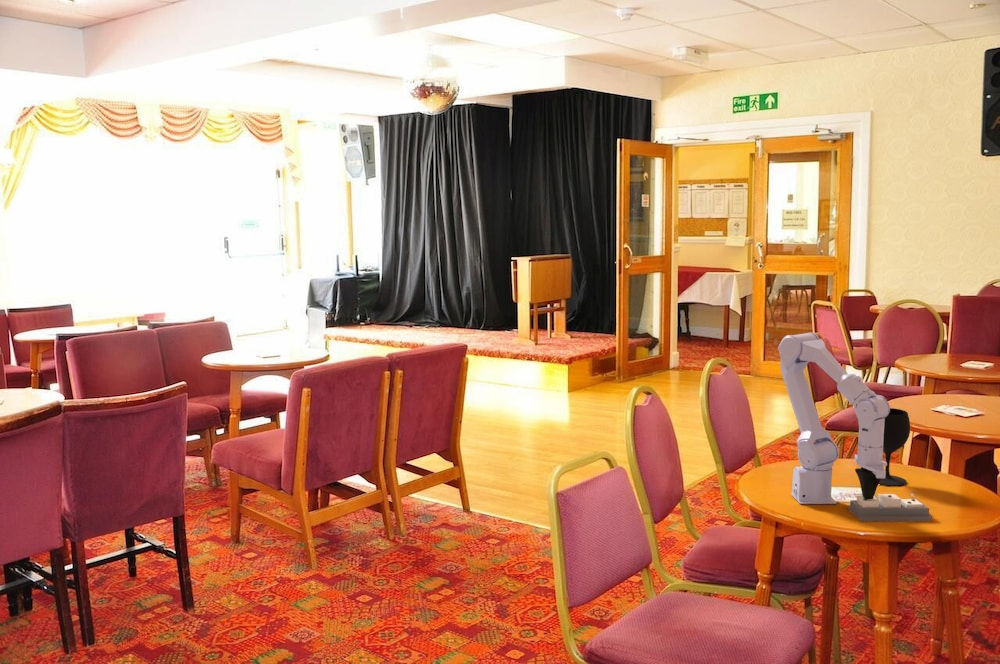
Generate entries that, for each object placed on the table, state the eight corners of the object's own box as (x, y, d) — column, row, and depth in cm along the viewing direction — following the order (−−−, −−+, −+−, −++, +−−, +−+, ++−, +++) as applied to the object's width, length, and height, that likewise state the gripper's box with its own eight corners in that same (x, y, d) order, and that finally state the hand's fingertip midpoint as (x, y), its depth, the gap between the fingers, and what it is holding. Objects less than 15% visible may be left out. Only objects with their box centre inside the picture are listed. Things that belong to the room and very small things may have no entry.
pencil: (909, 495, 240) (929, 519, 222) (911, 491, 240) (931, 516, 222) (912, 496, 240) (932, 521, 222) (914, 493, 240) (935, 518, 221)
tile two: (906, 513, 223) (906, 503, 222) (899, 508, 227) (899, 498, 226) (922, 513, 223) (923, 503, 222) (915, 508, 226) (915, 498, 226)
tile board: (861, 521, 220) (862, 510, 220) (847, 509, 229) (848, 498, 229) (931, 521, 220) (931, 510, 220) (914, 508, 229) (915, 498, 229)
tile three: (862, 510, 223) (862, 500, 222) (856, 505, 227) (856, 495, 226) (878, 510, 223) (879, 500, 222) (872, 505, 227) (872, 495, 226)
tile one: (884, 508, 222) (885, 498, 222) (877, 503, 226) (878, 493, 226) (900, 508, 222) (901, 498, 222) (893, 503, 226) (894, 493, 226)
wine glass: (900, 476, 257) (904, 407, 254) (911, 487, 246) (916, 416, 244) (862, 474, 258) (866, 406, 255) (872, 486, 248) (875, 415, 245)
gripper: (899, 452, 215) (896, 507, 217) (875, 437, 229) (872, 488, 231) (869, 452, 215) (867, 507, 217) (847, 437, 230) (845, 489, 231)
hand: (868, 498), depth 224 cm, fingers closed, pressing on tile three
